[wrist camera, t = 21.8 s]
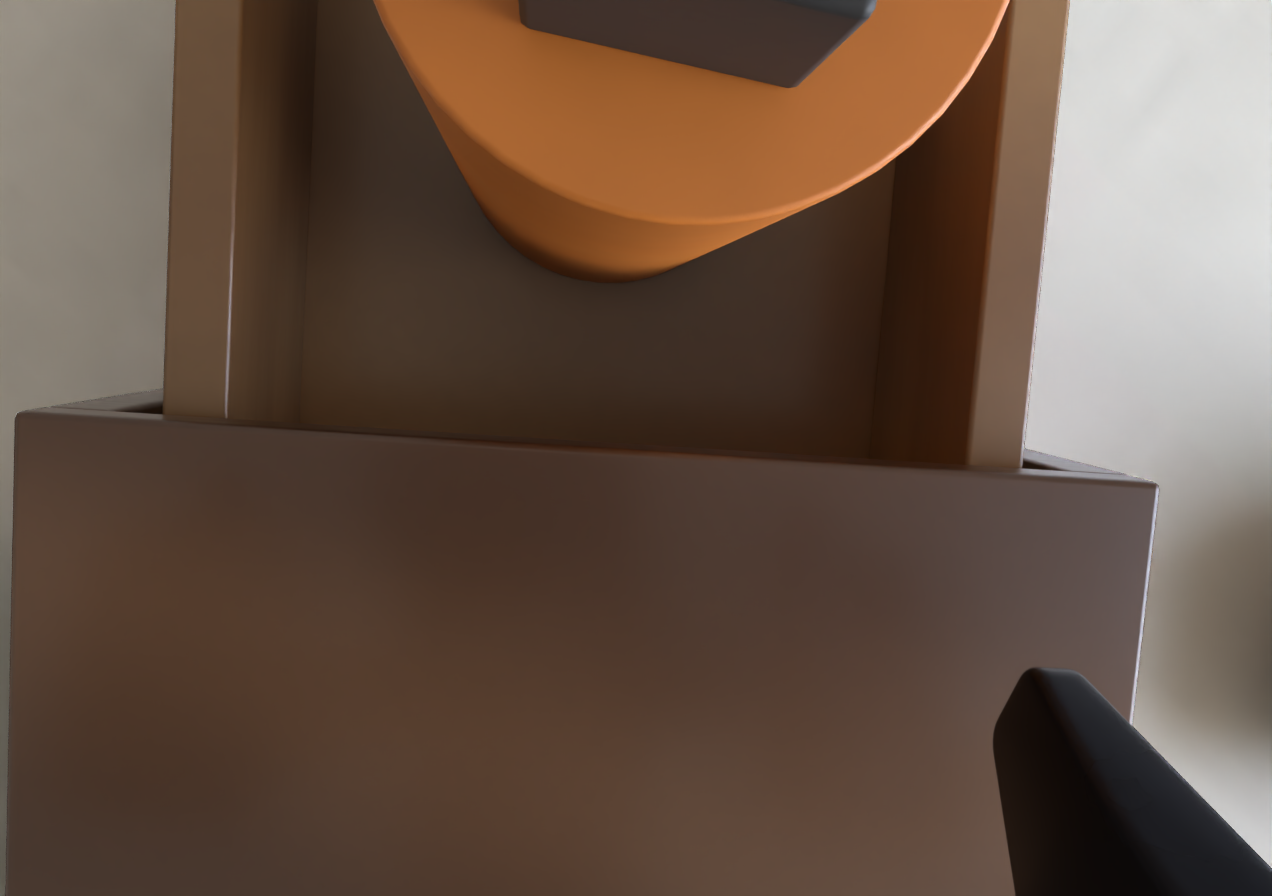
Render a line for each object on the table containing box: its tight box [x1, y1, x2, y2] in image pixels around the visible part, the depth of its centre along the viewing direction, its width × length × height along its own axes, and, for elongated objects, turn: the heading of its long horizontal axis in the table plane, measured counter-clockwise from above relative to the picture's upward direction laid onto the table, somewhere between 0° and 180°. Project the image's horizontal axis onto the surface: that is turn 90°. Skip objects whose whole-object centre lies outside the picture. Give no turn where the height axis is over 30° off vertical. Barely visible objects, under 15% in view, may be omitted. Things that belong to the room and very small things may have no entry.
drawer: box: [162, 0, 1070, 468], centre depth 17 cm, size 17×12×6 cm
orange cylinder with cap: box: [373, 0, 1010, 283], centre depth 13 cm, size 5×5×13 cm
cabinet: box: [5, 389, 1159, 896], centre depth 18 cm, size 14×14×8 cm
